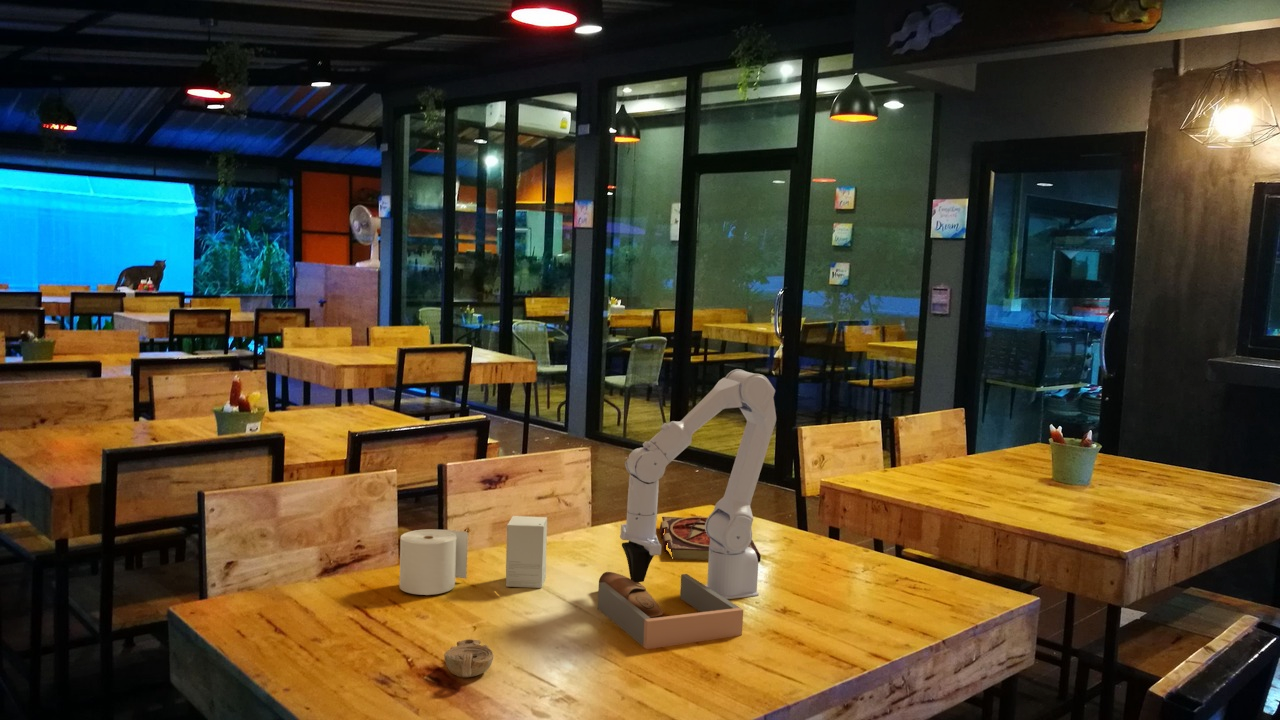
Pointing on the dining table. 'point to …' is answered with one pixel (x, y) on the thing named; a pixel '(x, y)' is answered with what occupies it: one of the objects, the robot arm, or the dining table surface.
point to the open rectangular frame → (672, 630)
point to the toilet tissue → (432, 560)
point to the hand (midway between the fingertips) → (637, 581)
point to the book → (689, 538)
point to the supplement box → (526, 551)
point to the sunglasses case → (632, 593)
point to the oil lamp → (468, 658)
